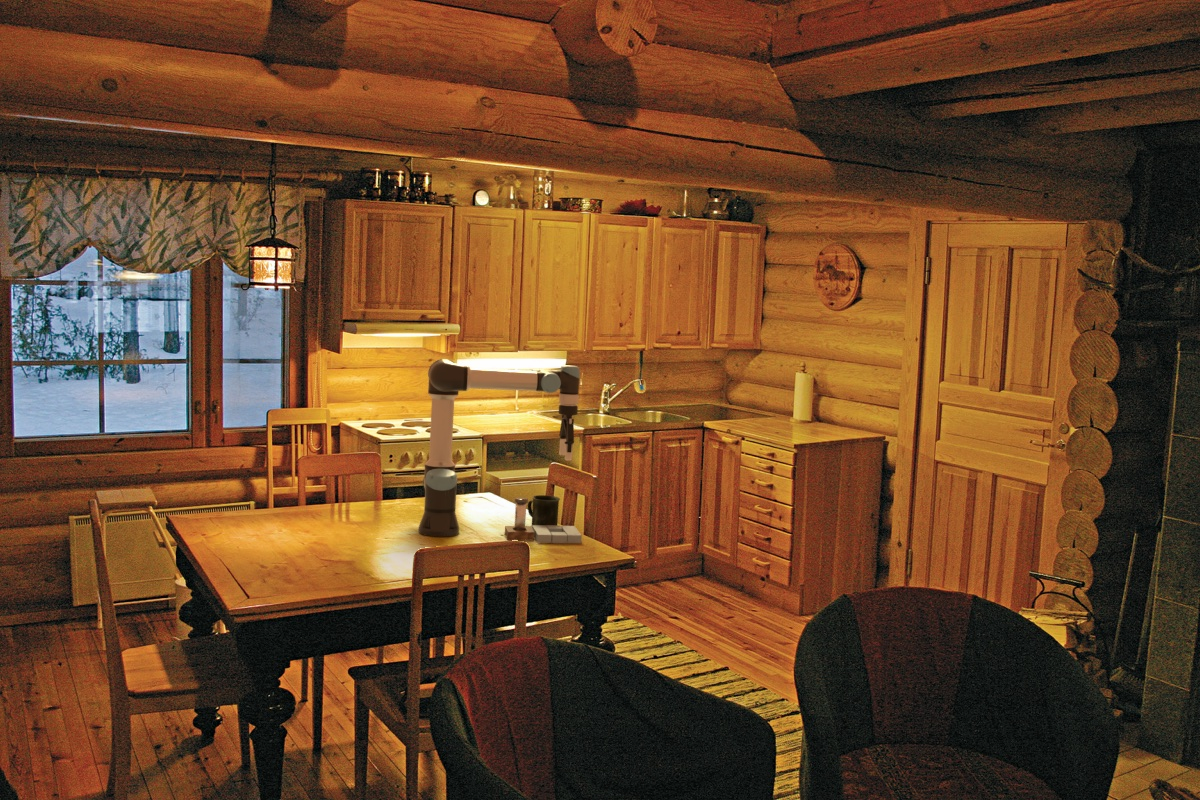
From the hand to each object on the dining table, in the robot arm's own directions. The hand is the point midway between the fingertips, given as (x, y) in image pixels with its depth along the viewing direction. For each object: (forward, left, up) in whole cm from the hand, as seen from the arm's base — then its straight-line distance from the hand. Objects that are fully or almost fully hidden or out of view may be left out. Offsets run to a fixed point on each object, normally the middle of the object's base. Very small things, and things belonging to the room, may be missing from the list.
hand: (565, 457), depth 424 cm
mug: (-8, 0, -28) cm, 29 cm away
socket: (-5, -19, -28) cm, 34 cm away
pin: (-19, -18, -28) cm, 39 cm away
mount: (-19, -18, -28) cm, 39 cm away
